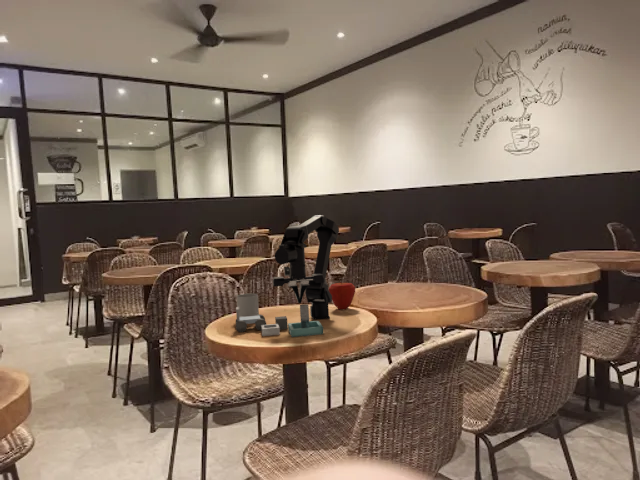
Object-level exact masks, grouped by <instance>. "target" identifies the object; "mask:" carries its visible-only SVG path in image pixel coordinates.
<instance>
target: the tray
mask: <svg viewBox="0 0 640 480" xmlns="http://www.w3.org/2000/svg"><path fill="white" fill-rule="evenodd" d="M309 324H310V328H301V321H299V322H287V325H288V329H287V330H288V333H289V335H290V337H291V338H296V337H297V338H298V337H308V336H309V337H310V336H318V335H319V336H320V335H324V326H323V325H322V323H321V322H320V321H319V320H313V321H310V320H309Z"/></svg>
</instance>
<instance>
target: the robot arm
mask: <svg viewBox="0 0 640 480" xmlns="http://www.w3.org/2000/svg"><path fill="white" fill-rule="evenodd" d="M339 228H340V227H339V226H338V224H336V222H335V221H333V220H331V219H329V218H327V217H326V215H323V214H322V215H321V214H319V215H318V214H317V215H313V216H312V217H311V218H309V219H308V220H306V221H304V222H302V223H301V224H299V225H292V226H288V227H286V228H285V231H284V233H283V237H282V240H281V243H280V244H279V245H278V248H277V250H276V251H275V253H274V259H275V262H277V264H279V265H287V264H289V266H284V267H283V271H284V276H285V277H286V276H287V278H284V276H273V277H272V279H271V280H272V286H273V287H277V288H278V287H283V286H284V285H285V284H287V286H288V287H289V289H290V288H291V289H292V290H293V293H294V294H295V295H294V296H295V298H296V300H297V303H298V304H302V301H303V297H304V294H305V296H306V297H305V298H306V301H307V303H311V305H310V306H309V307H310V308H309V310H310V311H309V314H310V317H311V318H312V319H313V320H321V319H322V320H323V319H330V318H331V317H330V314H329V310H330V309H329V303H332V302H333V301H332V295H331V294H330V292H329V284H328V282H327V280H326V278H327V271H328V266H329V262H330V256H331V249H332V246H333V244H334V243H335V242H336V241H337V239H338V236H339V233H340V229H339ZM312 232H316V237H317V239H318V242H319V245H318V250H317V254H316V255H317V256H316V259H315V260H316V261H315V263H314V265H315V266H314V270H313V273H311V276H307V272H306V271H307V269H306V255H305V253H306V251H305V249H306V248H307V247H308V245H307V244H306V243H305V242H306V240H307V239H308V238H309V235H310V234H311V233H312ZM297 283H299V287H298V284H297Z"/></svg>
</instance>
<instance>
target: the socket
mask: <svg viewBox="0 0 640 480" xmlns="http://www.w3.org/2000/svg"><path fill="white" fill-rule="evenodd" d="M280 331H281V330H280V328H279V325H278V324H276V323H273V324H272V323H271V324H266V325H261V336H262V337H268V336H278V335H281V333H280Z"/></svg>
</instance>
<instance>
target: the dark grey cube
mask: <svg viewBox="0 0 640 480" xmlns="http://www.w3.org/2000/svg"><path fill="white" fill-rule="evenodd" d="M274 319H275V320H274V321H275V324H278V325H279V328H280V331H281V330H283V331H284V330H288V317H287V316H286V315H285V316H284V315H283V316H275V318H274Z"/></svg>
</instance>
